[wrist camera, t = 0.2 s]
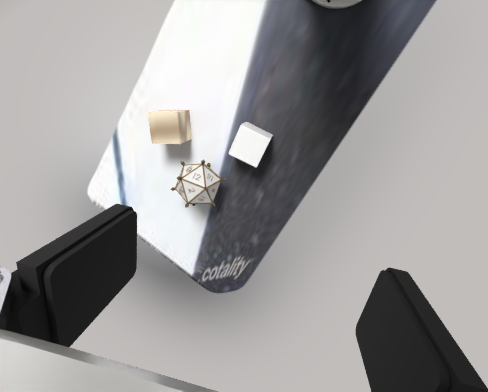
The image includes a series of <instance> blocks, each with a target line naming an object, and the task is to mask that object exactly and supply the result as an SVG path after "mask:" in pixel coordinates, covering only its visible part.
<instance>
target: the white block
mask: <svg viewBox="0 0 488 392" xmlns="http://www.w3.org/2000/svg"><path fill="white" fill-rule="evenodd" d="M272 136H273V135H272V134H270V133H268V132H266V131H264V130H262V129H260V128H258V127H256V126H254V125H252V124H250V123H248V122H245V123H243V124H241V126H240V128H239V131H238V133H237V135H236V137H235V140H234V142H233V144H232V147H231V149H230V151H229V154H230V155H232V156H234V157H236V158H238V159H240V160H242V161H244V162H246V163H248V164H250V165H252V166H254V167H256V168H257V166H258V164H259V162H260V160H261V158H262V156H263V154H264V152H265V150H266V148H267V146H268V144H269V142H270V140H271V138H272Z"/></svg>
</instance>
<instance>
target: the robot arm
mask: <svg viewBox="0 0 488 392" xmlns="http://www.w3.org/2000/svg"><path fill="white" fill-rule="evenodd" d="M312 1H313V2H315V3H316V4H318V5H320V6H323V7H326V8H330V9H341V8H347V7H350V6H353V5H356V4H357V3H359V2H361V1H363V0H330V2H329V3H328V2H327V0H312ZM136 261H137V214H136V212H134V210H133V208H132V207H129V206H125V205H120V204H115V205H113V206H112V207H110V208H108V209H107V210H105V211H103V212H102V213H100V214H98V215H96V216H95V217H93V218H91V219H90V220H88V221H86V222H85V223H83V224H81V225H79V226H78V227H76V228H74V229H73V230H71V231H69V232H67V233H66V234H64V235H62V236H61V237H59V238H57V239H56V240H54V241H52V242H50V243H49V244H47V245H45V246H44V247H42V248H40V249H38V250H37V251H35V252H33V253H32V254H30V255H28V256H27V257H25V258H23V259H21V260H20V261H18V262H16V263H17V268H18V269H17V270H16V271H14V272H12V273H11V272H10V271H9V270H8V269H7V268H4V267H0V392H217V391H214V390H210V389H207V388H204V387H201V386H197V385H194V384H191V383H187V382H184V381H181V380H177V379H174V378H171V377H167V376H164V375H161V374H157V373H154V372H151V371H147V370H144V369H140V368H137V367H133V366H130V365H127V364H124V363H120V362H116V361H113V360H110V359H107V358H103V357H99V356H96V355H93V354H89V353H86V352H83V351H79V350H76V349H72V348H69V347H70V346H71V345H72V344H73V343H74V341H75V340H76V339H77V338H78V337H79V336H80V335H81V334H82V333H83V332H84V330H85V329H86V328H87V327H88V326H89V325H90V324H91V322H93V320H94V319H95V318H96V317H97V316H98V315H99V314H100V313H101V312H102V310H103V309H104V308H105V307H106V306H107V305H108V304H109V303H110V302H111V300H112V299H113V298H114V297H115V296H116V295H117V294H118V293H119V292H120V291H121V289H122V288H123V287H124V286H125V285H126V284H127V283H128V282H129V280H130V279H131V278H132V277H133V276H134V274H135V272H136ZM356 337H357V341H358V344H359V348H360V352H361V355H362V359H363V363H364V366H365V370H366V374H367V377H368V381H369V384H370V388H371V392H488V388H487V387H486V385H485V384H484V383H483V381H482V380H481V378H480V377H479V375H478V374H477V372H476V371H475V370H474V368H473V366H472V365H471V364H470V362H469V361H468V359H467V358H466V356H465V355H464V353H463V352H462V350H461V349H460V347H459V346H458V345H457V343H456V342H455V340H454V339H453V337H452V336H451V334H450V333H449V331H448V330H447V329H446V327H445V326H444V324H443V323H442V321H441V320H440V318H439V317H438V315H437V314H436V312H435V311H434V309H433V308H432V307H431V305H430V304H429V302H428V301H427V299H426V298H425V297H424V295H423V293H422V292H421V290H420V289H419V288H418V286H417V285H416V283H415V282H414V280H413V279H412V277H411V276H410V274H409V273H408V272H406V271H402V270H398V269H393V268H387V269H386V271H384V270H382V271H381V272H380V274H379V276H378V278H377V281H376V283H375V285H374V287H373V289H372V292H371V294H370V296H369V298H368V301H367V303H366V305H365V307H364V309H363V312H362V314H361V316H360V318H359V321H358V323H357V326H356Z"/></svg>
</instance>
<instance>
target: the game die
mask: <svg viewBox="0 0 488 392" xmlns="http://www.w3.org/2000/svg"><path fill="white" fill-rule="evenodd" d="M201 163H202V164H191V165H185V163H184V162H181V164H182V165H183V168H182V171H181V174H180V176H179V177H177V179H178V182H177V184H176V187H175V188H172V189H171V190H177V192H178V193H179V194H180V195H181V196H182V197H183V199H184V200H185V201H186V202H187V204H186V205H185V207H188V206H189V204H192V205H193V206H194V205H195V204H208V203H212V205H213V206H214V207H216V206H215V203H213V201H214V199H215V196H216V194H217V191H218V188H219V186H220V183H221V181H223V180H224V181H225V179H226V178H222V179H221V178H220V177H219V176H218V175H217V174H216V173H215V172H214V171H212V170H211V169H210V168H209V166H210V163H208V164H207V166H206V165H204V163H205V161H204V160H202V162H201Z"/></svg>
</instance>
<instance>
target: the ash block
mask: <svg viewBox="0 0 488 392" xmlns="http://www.w3.org/2000/svg"><path fill="white" fill-rule="evenodd" d="M148 118H149V126H150V133H151V140H152V143H154V144H182V143H184V142H187V141H189V140H191V129H190V116H189V110H160V111H150V112H148Z"/></svg>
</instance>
